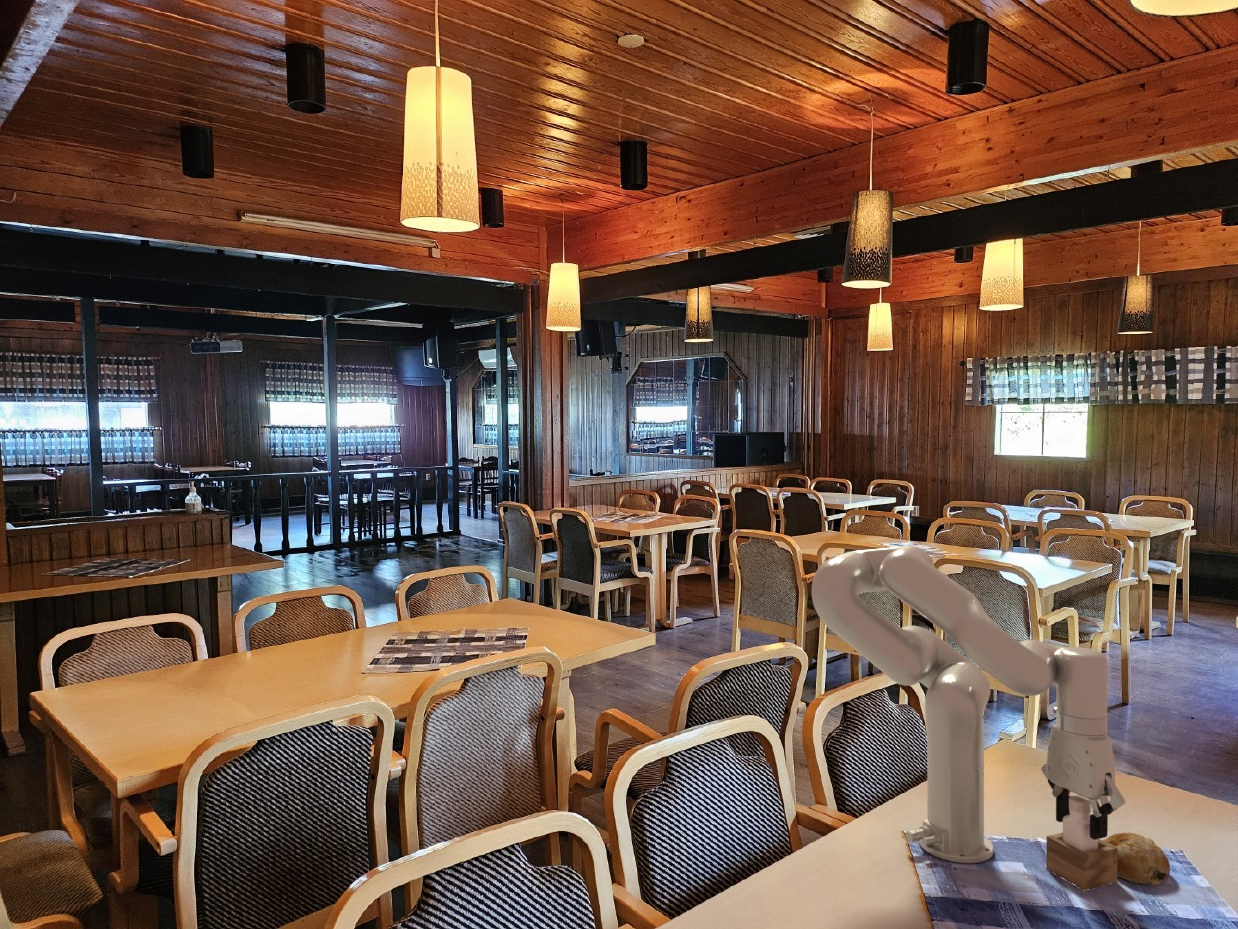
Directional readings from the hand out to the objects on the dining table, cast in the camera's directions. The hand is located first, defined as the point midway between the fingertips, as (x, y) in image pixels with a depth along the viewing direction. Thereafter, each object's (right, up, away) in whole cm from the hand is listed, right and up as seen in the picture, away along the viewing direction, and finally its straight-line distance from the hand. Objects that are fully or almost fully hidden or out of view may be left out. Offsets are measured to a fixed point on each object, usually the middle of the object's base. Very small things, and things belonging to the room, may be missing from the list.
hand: (1081, 828), depth 140 cm
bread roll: (+10, -8, +2) cm, 13 cm away
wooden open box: (0, -8, 0) cm, 8 cm away
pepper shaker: (0, -5, 0) cm, 5 cm away
